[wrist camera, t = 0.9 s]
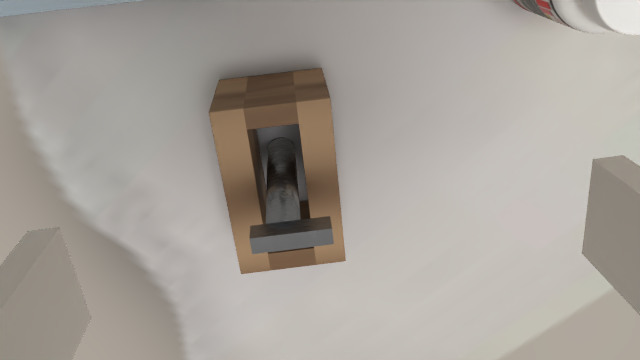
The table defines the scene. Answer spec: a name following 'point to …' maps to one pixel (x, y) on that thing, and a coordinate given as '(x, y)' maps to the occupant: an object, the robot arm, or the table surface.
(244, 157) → the brown wooden hollow block
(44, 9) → the tray
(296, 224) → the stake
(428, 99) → the table surface
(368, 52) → the table surface
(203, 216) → the table surface
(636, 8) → the pill bottle
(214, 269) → the table surface
